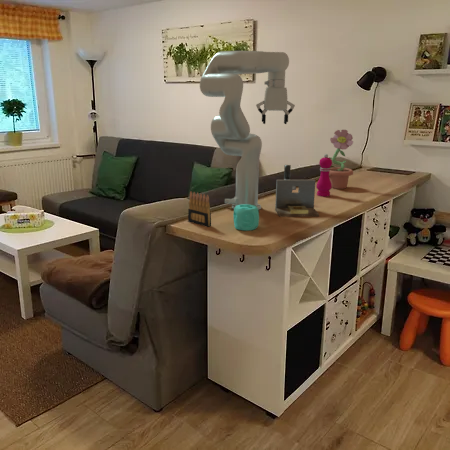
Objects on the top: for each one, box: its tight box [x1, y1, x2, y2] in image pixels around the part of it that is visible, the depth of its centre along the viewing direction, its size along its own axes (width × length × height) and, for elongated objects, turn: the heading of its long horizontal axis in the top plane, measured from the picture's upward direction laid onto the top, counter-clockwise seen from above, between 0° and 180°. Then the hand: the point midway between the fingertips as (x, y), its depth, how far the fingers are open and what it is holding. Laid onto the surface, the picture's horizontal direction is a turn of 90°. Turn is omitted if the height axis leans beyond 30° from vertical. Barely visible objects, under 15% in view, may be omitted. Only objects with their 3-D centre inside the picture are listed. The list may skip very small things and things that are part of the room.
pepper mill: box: [315, 153, 333, 197], centre depth 219 cm, size 7×7×20 cm
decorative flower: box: [328, 129, 354, 190], centre depth 235 cm, size 15×14×30 cm
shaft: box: [283, 164, 297, 191], centre depth 202 cm, size 3×17×8 cm, turn 3°
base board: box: [274, 207, 320, 218], centre depth 188 cm, size 16×11×1 cm
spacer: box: [288, 206, 308, 214], centre depth 186 cm, size 7×2×7 cm
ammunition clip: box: [187, 191, 212, 228], centre depth 171 cm, size 11×2×12 cm, turn 47°
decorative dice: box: [233, 204, 260, 232], centre depth 167 cm, size 8×8×8 cm
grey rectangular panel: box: [275, 179, 316, 209], centre depth 191 cm, size 16×2×12 cm, turn 93°
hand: (274, 123), depth 206 cm, fingers open, 9 cm apart
